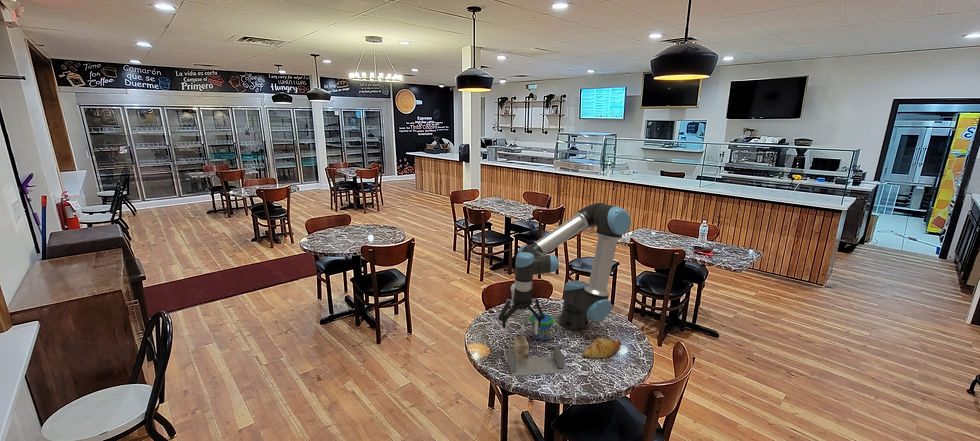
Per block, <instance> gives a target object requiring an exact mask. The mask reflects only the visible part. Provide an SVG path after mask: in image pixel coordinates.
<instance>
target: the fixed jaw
mask: <svg viewBox="0 0 980 441" xmlns="http://www.w3.org/2000/svg"><path fill="white" fill-rule="evenodd" d="M507 359H508V362H509V365H510V369H511V372H517V360H516V356H515V353H514V350H513V348H509V349H507ZM510 369H509V370H510ZM511 372H510V373H511Z"/></svg>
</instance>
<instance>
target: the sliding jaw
mask: <svg viewBox="0 0 980 441" xmlns="http://www.w3.org/2000/svg"><path fill="white" fill-rule="evenodd" d="M546 350H547V351H552V356H553V357H554V359H555V361H556V363H557V365H558V367H559V368H564V361H565V356H564V354H563V351H562V346H559V345H553V346H551V347H549V346H548V347H547V348H546Z"/></svg>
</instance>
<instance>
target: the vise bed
mask: <svg viewBox="0 0 980 441" xmlns="http://www.w3.org/2000/svg"><path fill="white" fill-rule="evenodd" d="M516 360H517V372H511V369H510V365H509V362H508V358H507V359H506V363H507V366H508V368H509V371H510V375H511V377H519V376H521V377H522V376H533V375H546V374H547V375H548V374H558V373H569V367H568V365H567V364H566V362H565V360H564V368H559V367H558V365H557V363H556V361H555V359H554V357H553V355H551V356H550V355H549V356H547V355H546V356H533V357H528V358H516Z"/></svg>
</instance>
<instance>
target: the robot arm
mask: <svg viewBox="0 0 980 441" xmlns="http://www.w3.org/2000/svg"><path fill="white" fill-rule="evenodd" d="M631 222H632V221H631V216H630V214H629V212H628V211H627V210H626V209H624V208H622V207H619V206H616V205H612V204H608V203H605V202H595V203H591V204H589V205H586V206H584V207H583V208H581V209H579V210H577V211H576V212H575V213H574V216H572V217H571V218H569V219H568V220H567V221H565V222H563V223H562V224H561V225H558V226H557V227H555V229H553V230H552V231H550V232H548V233H547V234H545V235H544V236H542V237H541V238H539V239H538V240H536V241H535V242H533V243H532V244H530V245H527V244H524V245H522V246H520V247H519V248H518V250H517V254H516V257H515V266H514V267H515V270H514V271H515V273H514V274H515V275H514V283H515V289H514V299H513V300H512V299H510V298H509V297H508V298H506V301H505V304H504V306H503V308H502V309H501V311H500V313H499V314H498V321H500V322H501V324H502V325H501V326H502V329H504V330H503V331H504V332H503V333H504V336H505V337H507V336H508V325H509V324H508V320H509V318H510V317H511V316H512V315H513V314H515V313H514V312H515V311H516V310H517V309H519V310H522V309H524V310H527V309H528V310H529V311H530V312H531V314H532V315H533V314H534V316H535V317H536V318H535V328H534V332H535V334H536V335H537V334H538V327H540V321H541V319H545V316H544V314H543V313H544V312H543V310H542V308H541V306H540V302H539V298H538V297H534V298H532V294H533V293H532V292H533V290H532V289H533V279H534V278H533V277H534V276H535V275H540V274H548V273H554V272H556V271H558V269H559V264H560V263H559V258H558V257H557V255H554V254H549V253H550V252H552V251H553V250H554V249H556V248H558V247H559V246H561V245H562V244H564V243H565V242H567V241H568V240H570V239H572V238H573V237H574V236H575V235H577V234H578V233H580V232H581V231H584V230H588V229H591V228H592V227H596V230H595V234H596V235H597V237H598V238H597V242H596V247H595V251H594V256H593V262H592V265H591V271H590V276H589V279H588V280H589V281H588V282H586V281H583V280H569V281H567V282H566V283H565V284H564V287H563V288H564V289H563V303H562V304H563V305H562V311H561V313H560V315H559V318H558V325H559V326H560V328H562V329H564V330H566V331H570V332H576V333H577V332H579V333H580V332H584V331H586V330H588V328H590V326H589V325H590V322H589V319H590V320H592V321H593V322H601V321H603V320H605V319H606V318H607V317H609V315H610V314H611V311H612V307H613V306H612V303H611V301H610V300H609V298H610V297H609V296H610V293H609V291H608V286H609V281H610V276H611V272H612V268H613V267H612V266H613V262H614V258H615V253H616V249H617V245H618V241H619V240H621V239H622V237H623V235H625V234H627V233H628V231H629V229H630V227H631V224H632V223H631ZM512 303H514V305H513V306H512ZM532 304H535V306H536V309H537V311H538V312H536V310H535V309H534V308H533V307H532V306H531V305H532ZM510 306H511V307H510ZM537 313H540V316H539V315H538V314H537Z"/></svg>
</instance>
